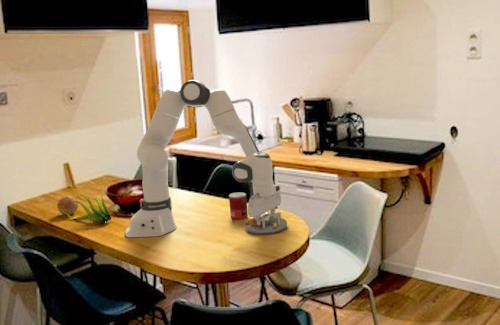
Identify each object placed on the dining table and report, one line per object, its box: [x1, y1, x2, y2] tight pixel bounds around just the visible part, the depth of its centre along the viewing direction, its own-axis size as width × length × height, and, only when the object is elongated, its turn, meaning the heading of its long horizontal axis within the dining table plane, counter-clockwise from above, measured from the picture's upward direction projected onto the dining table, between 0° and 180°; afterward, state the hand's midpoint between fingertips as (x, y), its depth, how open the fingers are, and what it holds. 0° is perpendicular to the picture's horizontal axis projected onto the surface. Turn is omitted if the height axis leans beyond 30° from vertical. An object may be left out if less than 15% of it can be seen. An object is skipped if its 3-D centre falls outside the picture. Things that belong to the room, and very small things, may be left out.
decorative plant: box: [59, 188, 112, 224], centre depth 255 cm, size 18×30×15 cm, turn 33°
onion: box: [56, 194, 79, 216], centre depth 266 cm, size 10×10×10 cm
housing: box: [244, 217, 288, 236], centre depth 226 cm, size 18×18×4 cm
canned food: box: [228, 191, 249, 221], centre depth 242 cm, size 8×8×11 cm
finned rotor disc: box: [249, 211, 282, 228], centre depth 226 cm, size 14×13×4 cm
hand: (265, 221), depth 226 cm, fingers open, 8 cm apart
